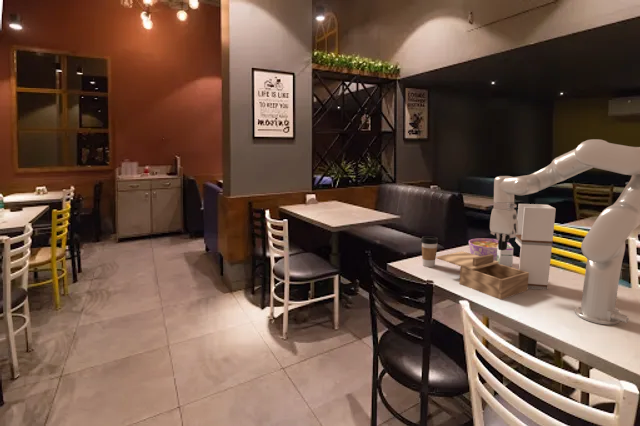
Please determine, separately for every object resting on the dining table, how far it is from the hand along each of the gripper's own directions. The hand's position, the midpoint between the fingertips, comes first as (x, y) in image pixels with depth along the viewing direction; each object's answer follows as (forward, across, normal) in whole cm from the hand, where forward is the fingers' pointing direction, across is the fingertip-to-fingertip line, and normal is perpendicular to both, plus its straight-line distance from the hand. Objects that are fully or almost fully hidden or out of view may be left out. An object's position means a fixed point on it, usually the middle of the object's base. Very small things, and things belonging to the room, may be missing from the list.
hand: (502, 249), depth 154 cm
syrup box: (+17, +11, -18) cm, 27 cm away
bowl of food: (+17, +25, -26) cm, 40 cm away
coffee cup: (+16, +40, +1) cm, 43 cm away
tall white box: (+18, -2, -17) cm, 25 cm away
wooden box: (+17, +4, 0) cm, 18 cm away
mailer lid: (+9, +17, 0) cm, 19 cm away
